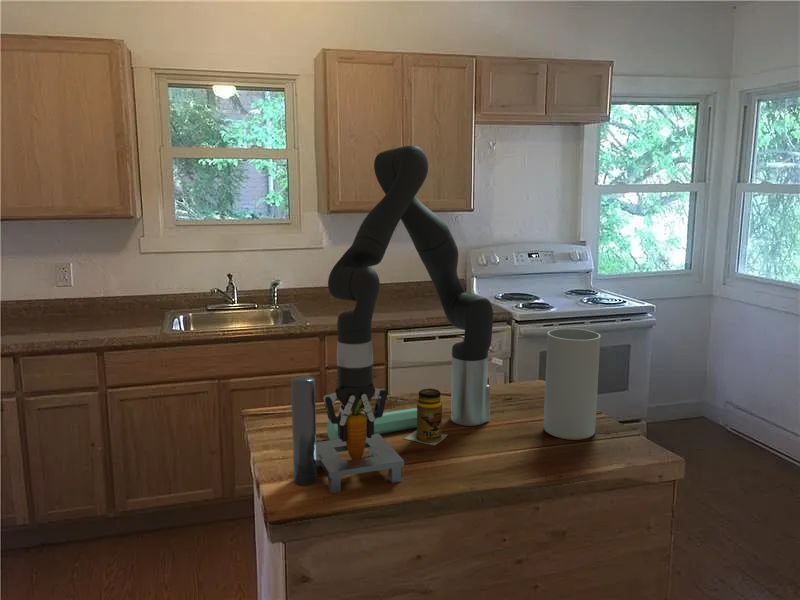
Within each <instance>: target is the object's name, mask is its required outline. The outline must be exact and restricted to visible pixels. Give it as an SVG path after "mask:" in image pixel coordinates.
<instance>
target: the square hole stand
mask: <svg viewBox="0 0 800 600" xmlns="http://www.w3.org/2000/svg"><path fill="white" fill-rule="evenodd" d="M290 390H291V392H290V393H291V394H290V395H291V396H290V397H291V421H292V422H291V423H292V458H293V460H292V462H293V483H294V484H295V485H297V486H298V487H299V486H300V487H308V486H312V485H314V484H316V483H317V481H318V468H322V469H323V471H324V473H325V474H326V476H327V477H328V478H327V480H328V481H327V482H328V491H329V492H330V494H332V495H333V494H336V493H341V491H342V487H341V486H342V485H341V482H342V481H341V479H342V478H341V477H343V476H344V477H346V476H353V475H357V474H363V473H369V472H375V471H382V470H388V480H389V482H390V483H391V484H395V483H401V482H402V467H405V460H404V459H403V458H402V457H401V456H400V454H398V452H397V451H396V450H395V449H394V448H393V447H392V446H391V445H390V444H389V443H388V442H387V440H386V439H385V438H384V437H383V436H382V434H373V435H372V437H371V438H367V436H366V443H365V448H364V449H367V450H368V452H369V453H368V456H369V457H362V458H361V459H354V460H352V459H349V460H343V458H342V457H341V456H340V454H339V453H341V452H348V448H347V444H346V442H342V440H340V439H336V440H329V439H328V440H324V441H323V440H322V441H317V422H316V419H317V417H316V415H317V414H316V413H317V411H316V378H315V377H313V376H310V375H298V376H294V377H292V378H291V380H290Z"/></svg>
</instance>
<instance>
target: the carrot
mask: <svg viewBox="0 0 800 600" xmlns="http://www.w3.org/2000/svg"><path fill="white" fill-rule="evenodd" d="M361 404H362V400H361V399H359V401H358V403H357V406H356V409H354V410H351V412H350V413H349V416H347V419H346V422H345V425H346V444H347V448H348V451H347V452H348V454H349V457H350V460H354V459H361V458H363V455H364V452H365V449H366V448H365V443H366V436H367V416H366V415H365V413H362V411H364V410H363V409H364V408H363V407H362V408H361V409H359V407H360V405H361Z"/></svg>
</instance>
